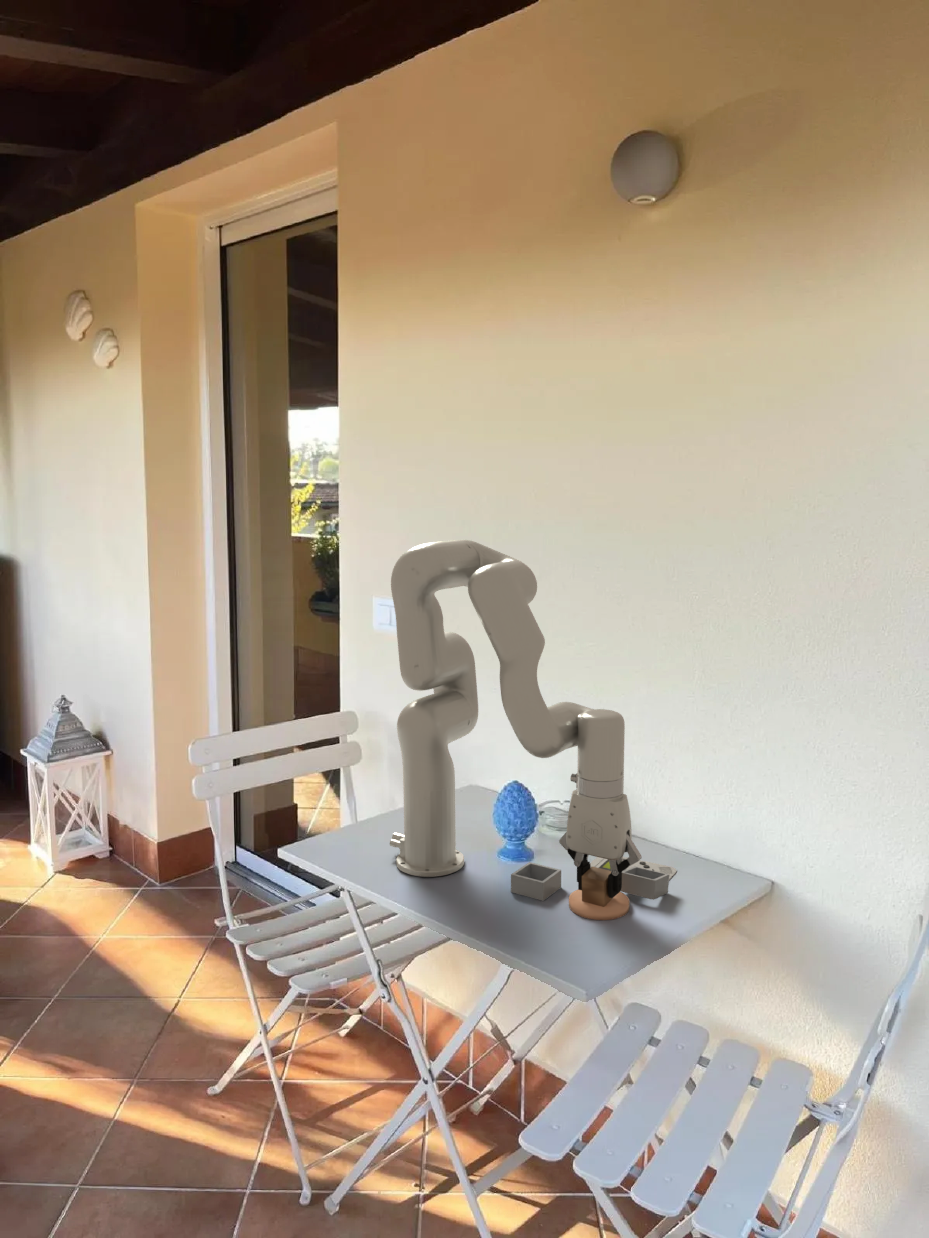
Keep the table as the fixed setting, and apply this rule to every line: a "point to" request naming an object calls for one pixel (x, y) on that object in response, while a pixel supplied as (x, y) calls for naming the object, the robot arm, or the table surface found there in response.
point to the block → (595, 886)
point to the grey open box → (536, 881)
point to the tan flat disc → (599, 907)
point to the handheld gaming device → (605, 865)
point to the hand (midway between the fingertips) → (598, 889)
